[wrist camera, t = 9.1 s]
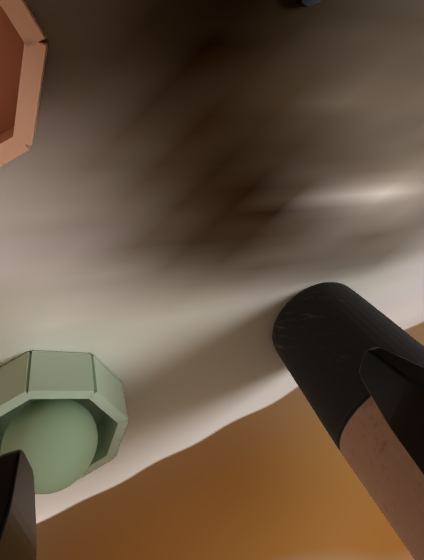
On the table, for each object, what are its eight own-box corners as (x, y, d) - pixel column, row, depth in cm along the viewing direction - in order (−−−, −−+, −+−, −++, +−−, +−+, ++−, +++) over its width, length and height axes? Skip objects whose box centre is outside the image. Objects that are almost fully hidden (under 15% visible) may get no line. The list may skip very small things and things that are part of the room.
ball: (60, 364, 21) (64, 437, 18) (108, 406, 25) (120, 475, 21) (-17, 410, 21) (-30, 495, 17) (41, 446, 24) (41, 525, 20)
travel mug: (371, 271, 27) (823, 611, 11) (345, 351, 31) (647, 684, 15) (276, 285, 24) (676, 742, 9) (261, 369, 28) (514, 786, 13)
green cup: (67, 328, 21) (68, 365, 19) (140, 401, 26) (148, 437, 24) (-62, 403, 21) (-77, 450, 18) (37, 461, 26) (34, 504, 23)
